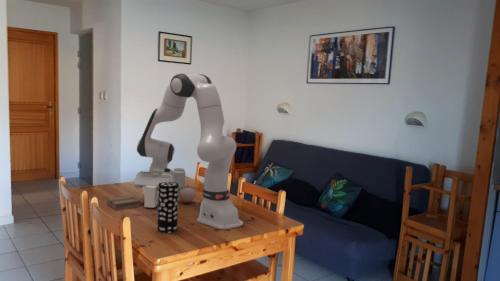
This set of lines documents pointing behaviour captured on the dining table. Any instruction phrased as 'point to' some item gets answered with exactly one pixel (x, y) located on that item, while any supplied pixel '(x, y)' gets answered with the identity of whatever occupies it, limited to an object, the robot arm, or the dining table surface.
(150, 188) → the block
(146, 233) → the dining table surface
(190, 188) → the decorative fruit
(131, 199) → the base
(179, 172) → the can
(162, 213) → the spotted tube
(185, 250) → the dining table surface
